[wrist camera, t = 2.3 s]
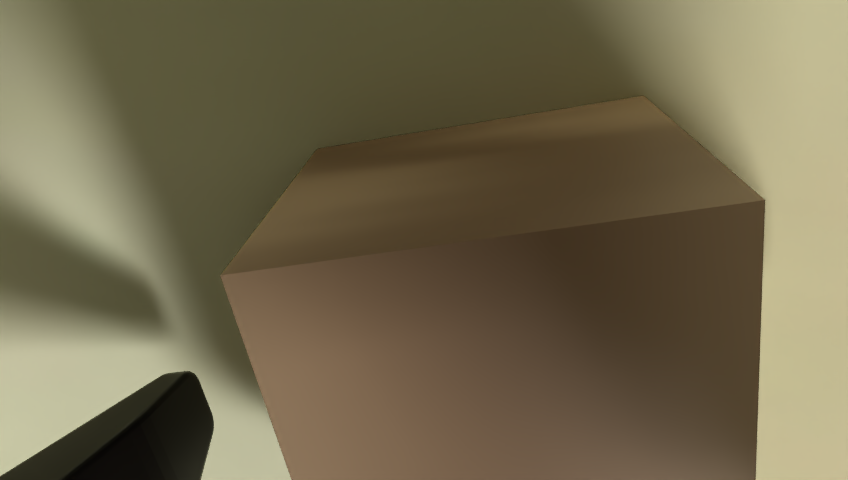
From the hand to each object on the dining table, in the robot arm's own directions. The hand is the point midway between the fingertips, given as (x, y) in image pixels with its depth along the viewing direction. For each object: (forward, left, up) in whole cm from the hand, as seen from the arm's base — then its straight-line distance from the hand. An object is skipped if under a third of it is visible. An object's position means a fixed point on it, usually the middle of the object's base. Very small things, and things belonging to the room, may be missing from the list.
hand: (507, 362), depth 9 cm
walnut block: (0, 0, -2) cm, 2 cm away
